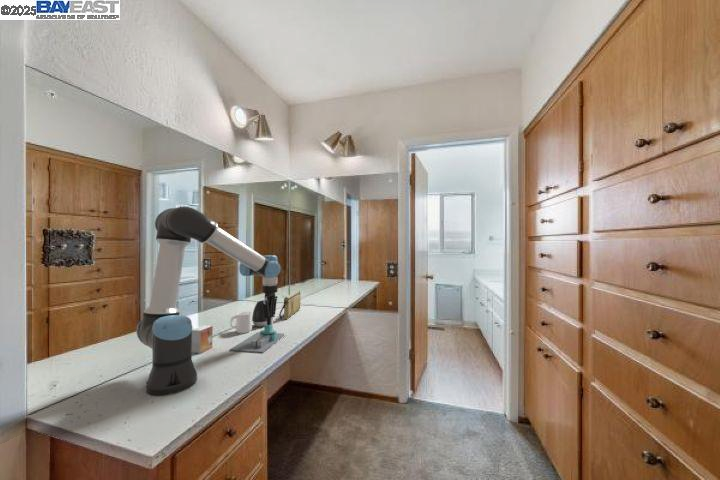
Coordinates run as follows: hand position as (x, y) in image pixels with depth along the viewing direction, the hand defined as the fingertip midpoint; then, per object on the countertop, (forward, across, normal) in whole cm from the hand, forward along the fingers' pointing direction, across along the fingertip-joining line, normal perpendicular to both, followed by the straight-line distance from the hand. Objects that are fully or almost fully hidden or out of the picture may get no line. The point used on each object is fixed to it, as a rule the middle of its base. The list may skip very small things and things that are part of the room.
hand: (269, 330), depth 147 cm
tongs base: (+4, -5, -1) cm, 6 cm away
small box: (+5, -18, +25) cm, 32 cm away
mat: (+5, -4, +3) cm, 7 cm away
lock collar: (+4, -2, 0) cm, 5 cm away
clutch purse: (+5, +50, +10) cm, 52 cm away
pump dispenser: (+5, +22, +17) cm, 29 cm away
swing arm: (+4, -6, +1) cm, 7 cm away
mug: (+5, +10, +23) cm, 26 cm away
